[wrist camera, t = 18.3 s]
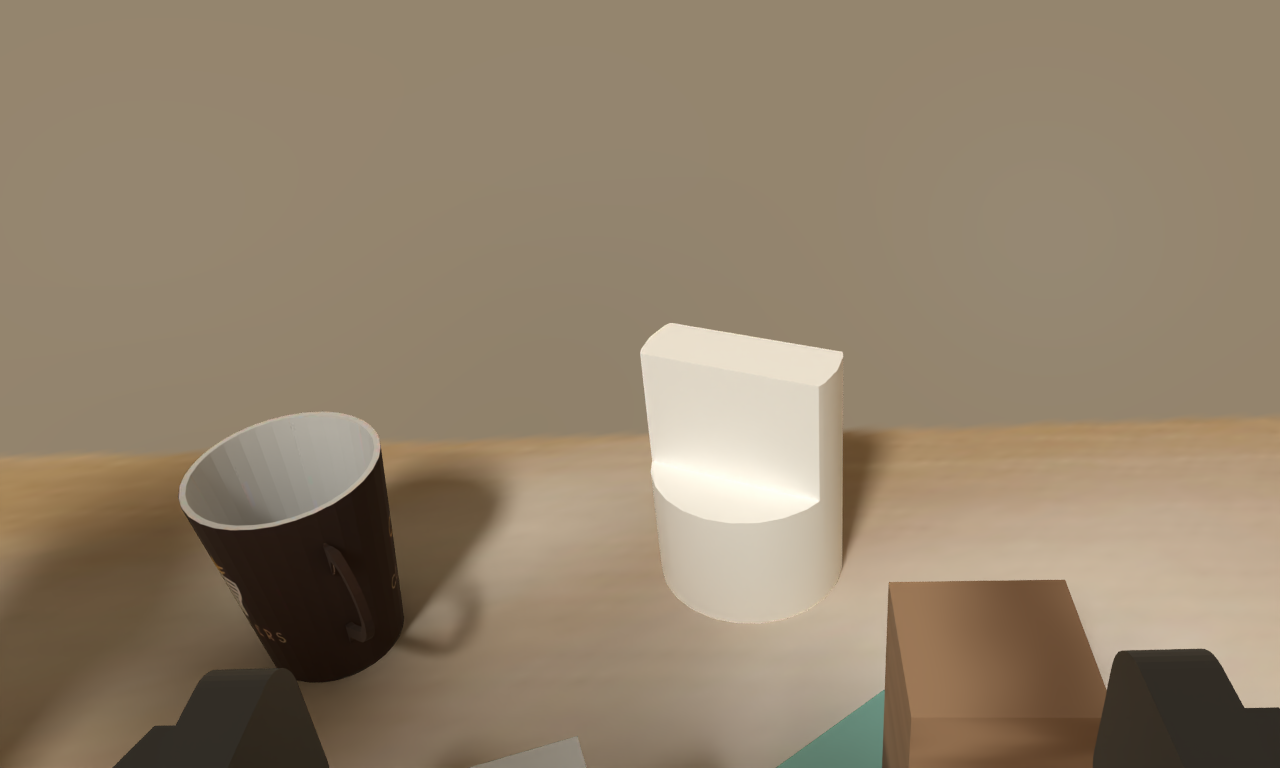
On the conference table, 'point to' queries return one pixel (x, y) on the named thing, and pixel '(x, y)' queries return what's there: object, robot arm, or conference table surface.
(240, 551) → the coffee mug
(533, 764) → the grey brick
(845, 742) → the teal board
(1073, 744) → the walnut brick
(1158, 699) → the robot arm
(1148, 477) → the conference table surface
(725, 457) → the base with upright slab
